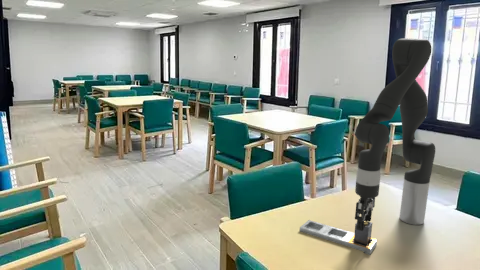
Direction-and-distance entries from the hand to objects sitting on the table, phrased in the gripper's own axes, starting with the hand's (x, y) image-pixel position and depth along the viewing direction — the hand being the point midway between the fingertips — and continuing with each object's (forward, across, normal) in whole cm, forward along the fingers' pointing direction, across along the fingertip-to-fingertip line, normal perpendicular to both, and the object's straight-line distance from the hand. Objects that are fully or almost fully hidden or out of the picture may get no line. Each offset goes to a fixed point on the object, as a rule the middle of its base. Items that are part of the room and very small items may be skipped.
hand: (363, 225), depth 126 cm
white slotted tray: (+8, 0, +9) cm, 12 cm away
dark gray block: (+7, 0, 0) cm, 7 cm away
